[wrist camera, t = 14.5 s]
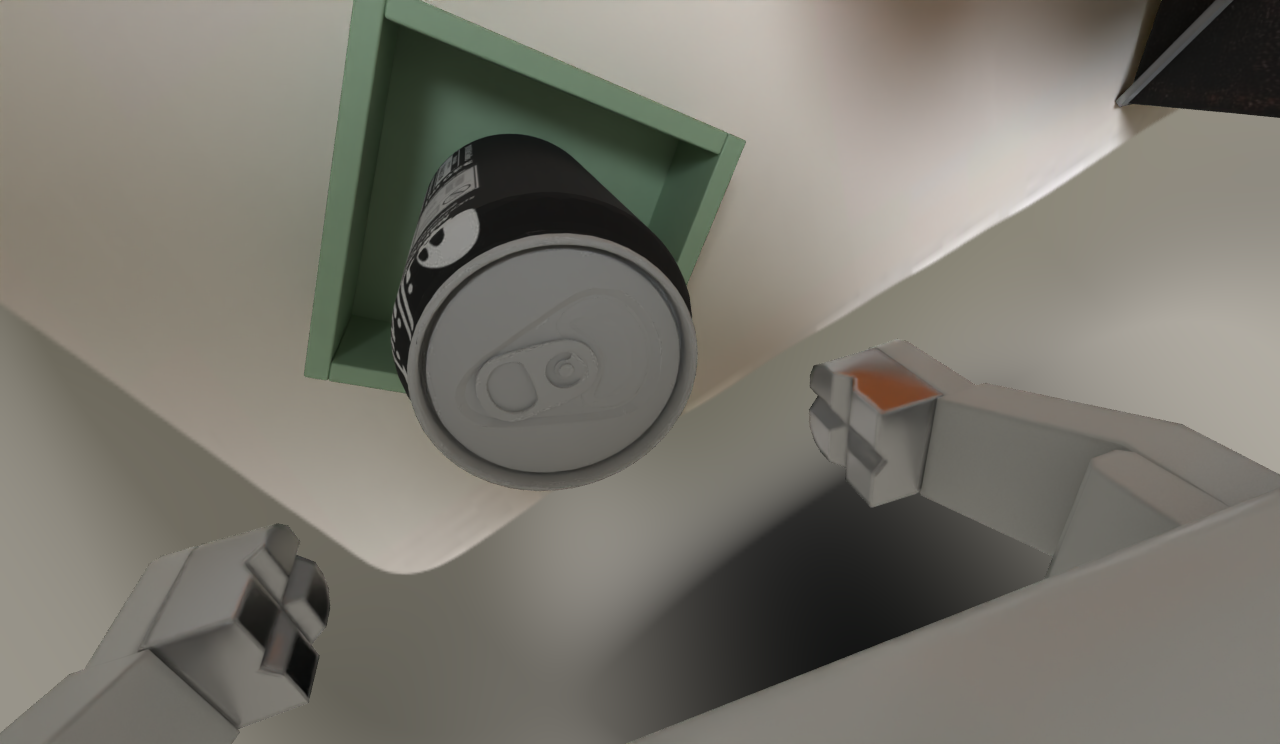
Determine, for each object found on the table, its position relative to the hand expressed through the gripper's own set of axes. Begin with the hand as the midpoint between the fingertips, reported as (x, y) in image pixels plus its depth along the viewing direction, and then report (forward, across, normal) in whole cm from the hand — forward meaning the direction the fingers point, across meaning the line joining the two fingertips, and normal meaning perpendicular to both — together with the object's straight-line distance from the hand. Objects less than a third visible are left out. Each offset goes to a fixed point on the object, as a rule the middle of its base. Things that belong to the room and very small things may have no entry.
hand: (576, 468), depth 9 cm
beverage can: (+15, 0, 0) cm, 15 cm away
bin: (+15, 0, 0) cm, 15 cm away
